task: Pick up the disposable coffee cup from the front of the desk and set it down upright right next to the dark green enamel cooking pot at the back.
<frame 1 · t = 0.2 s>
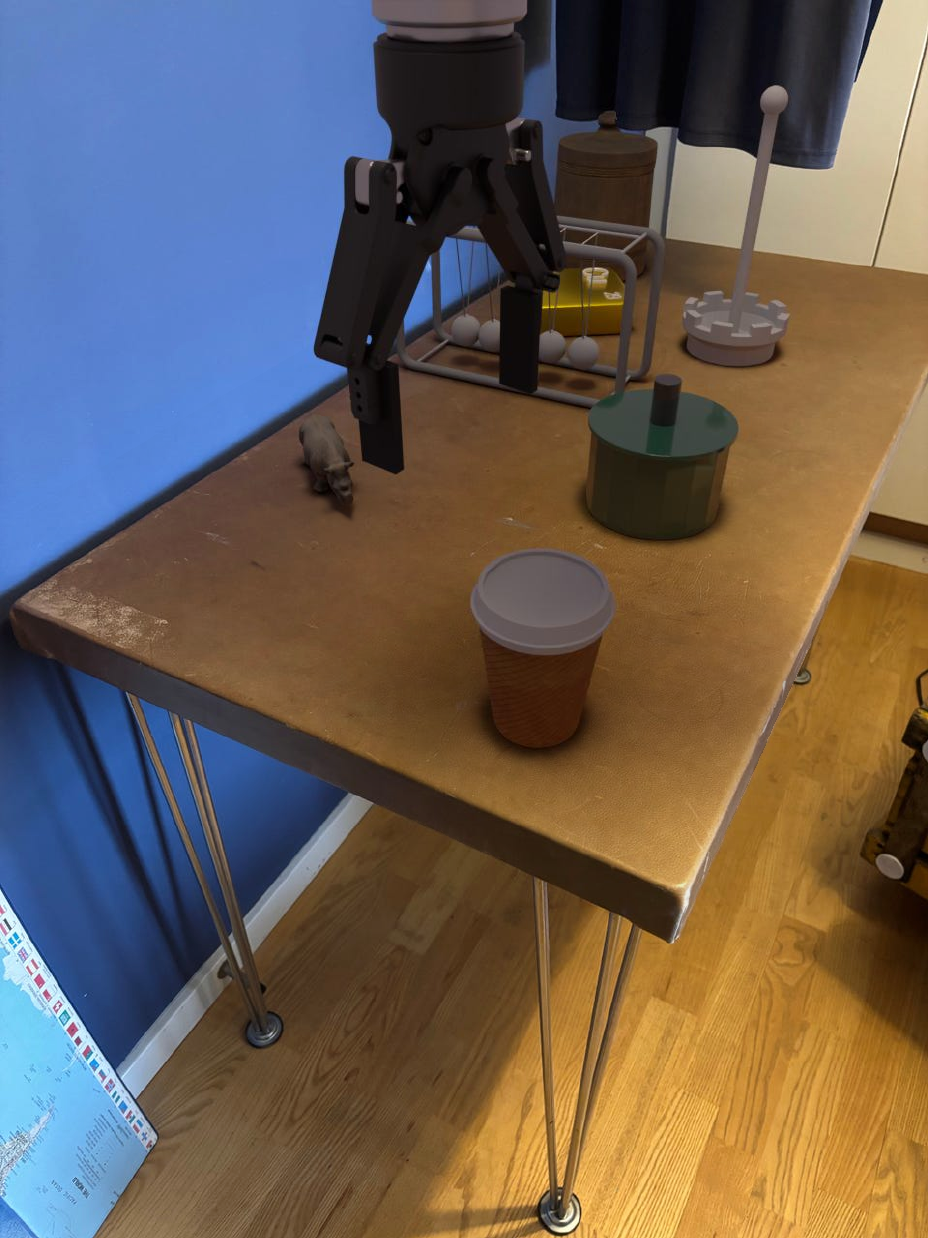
hand: (455, 423, 58), 21 cm above the table, tool pointing down, fingers open, 13 cm apart
wooden container: (596, 269, 144), on the table
pot lid: (662, 425, 84), point 8 cm above the table, touching pot
newton's cradle: (520, 375, 113), on the table
element tile: (569, 317, 128), on the table
disposable coffee cup: (535, 718, 67), on the table
pot: (650, 504, 89), on the table
flag stand: (729, 350, 119), on the table
rhino figurine: (332, 489, 92), on the table
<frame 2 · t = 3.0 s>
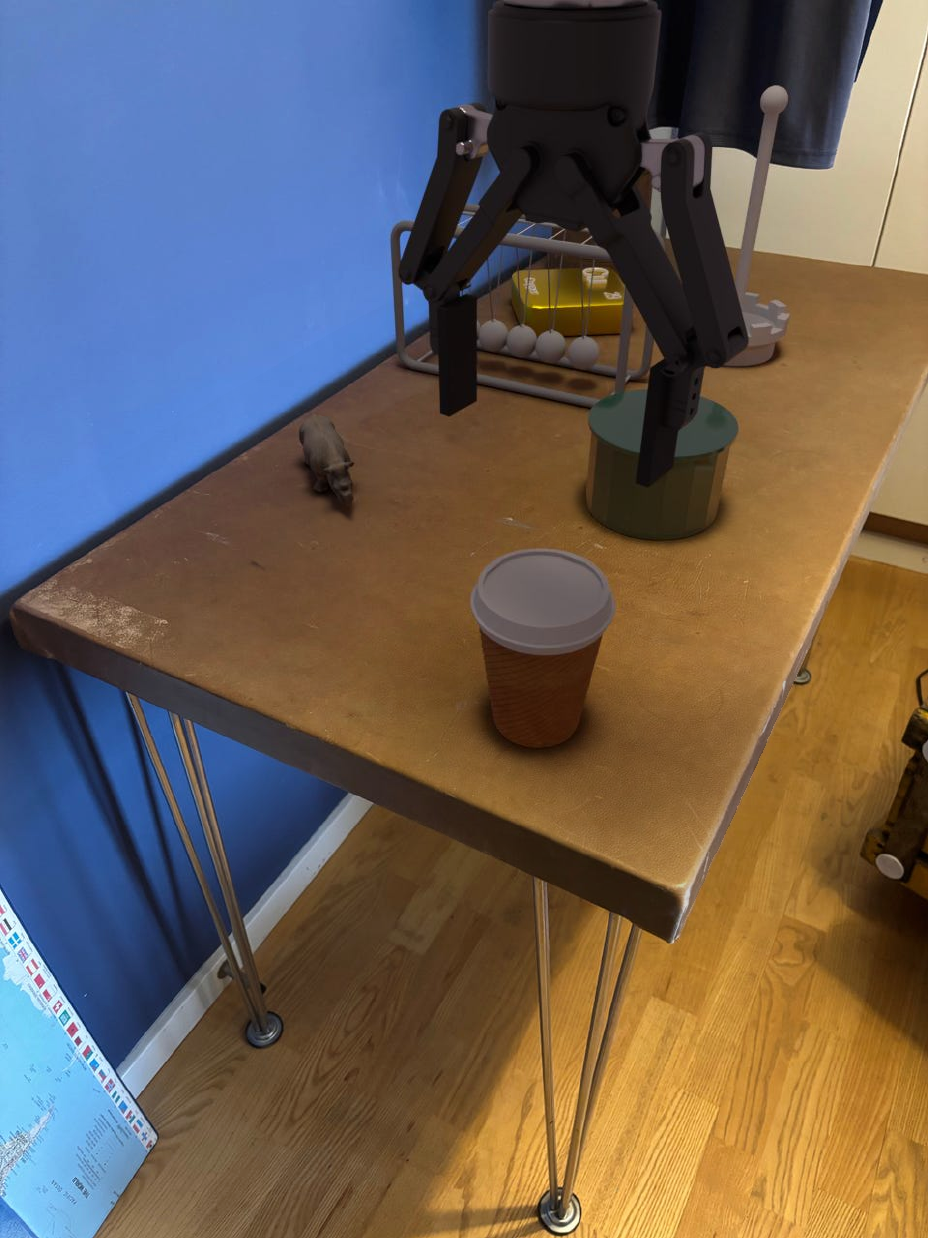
hand: (550, 439, 53), 22 cm above the table, tool pointing down, fingers open, 13 cm apart
nothing on the table moved.
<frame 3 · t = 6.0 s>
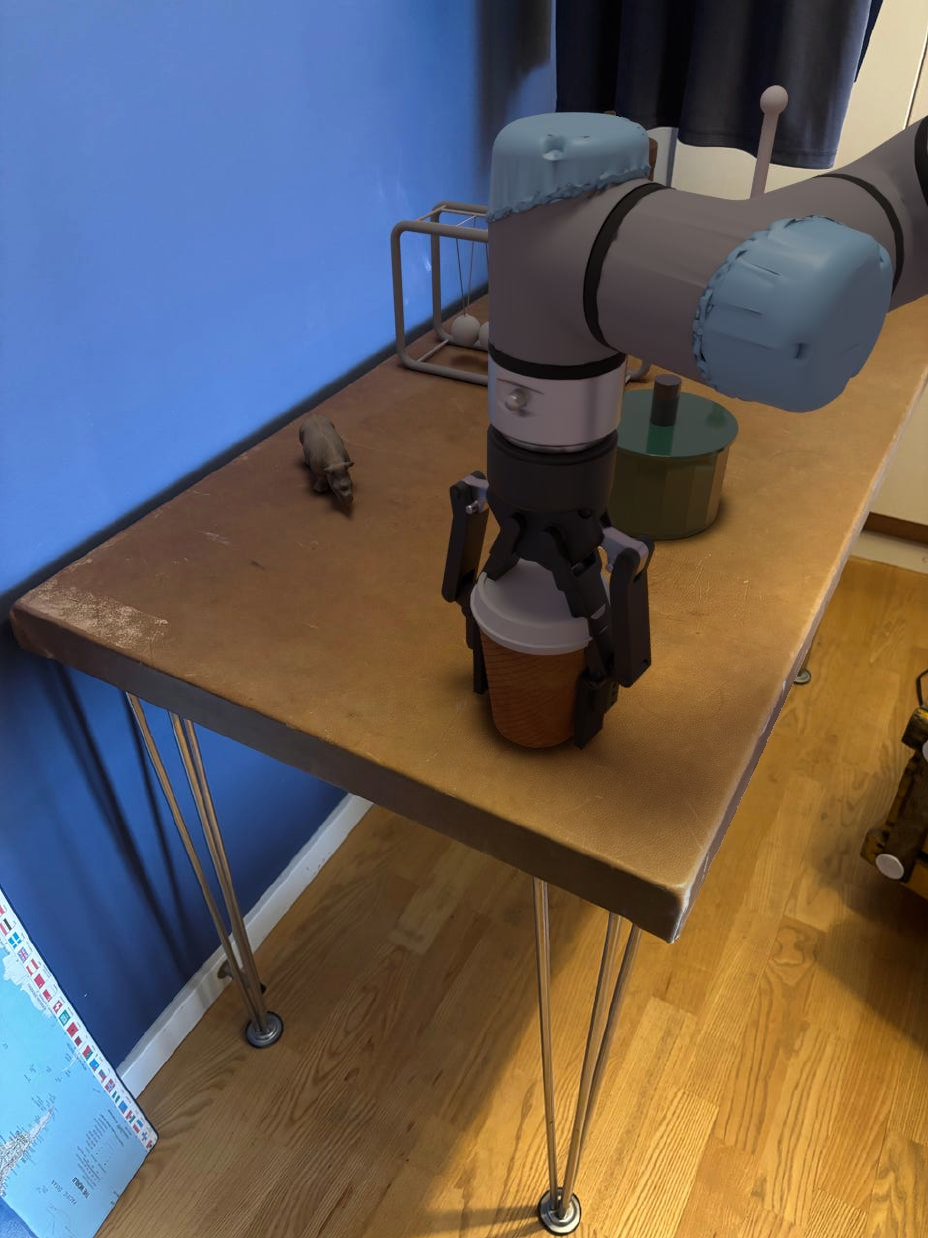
hand: (536, 709, 66), 1 cm above the table, tool pointing down, fingers closed on disposable coffee cup, 8 cm apart
disposable coffee cup: (535, 718, 67), on the table, touching gripper
everything else where it was.
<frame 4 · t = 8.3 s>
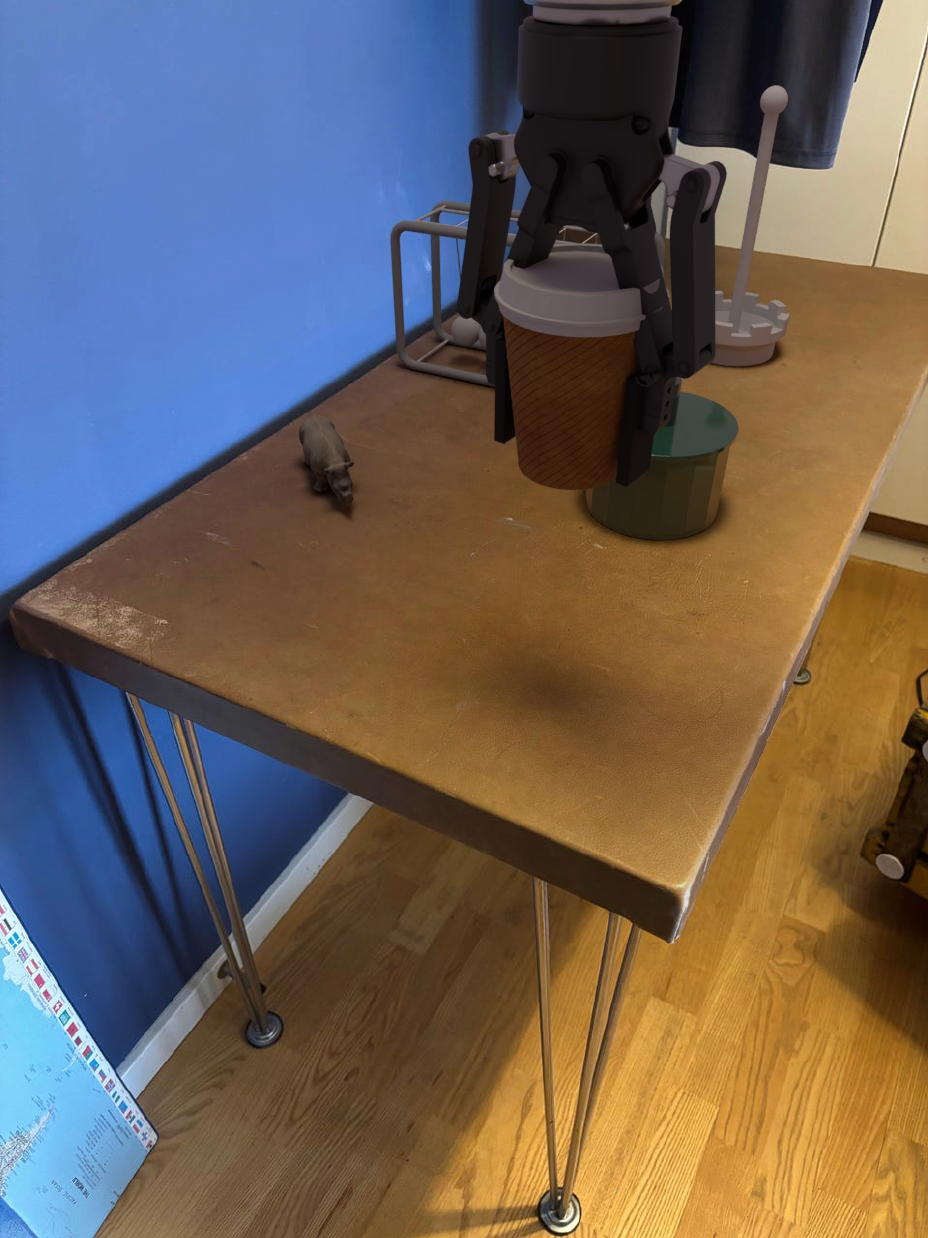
hand: (569, 453, 56), 20 cm above the table, tool pointing down, fingers closed on disposable coffee cup, 8 cm apart
disposable coffee cup: (568, 467, 57), point 19 cm above the table, touching gripper
everything else where it was.
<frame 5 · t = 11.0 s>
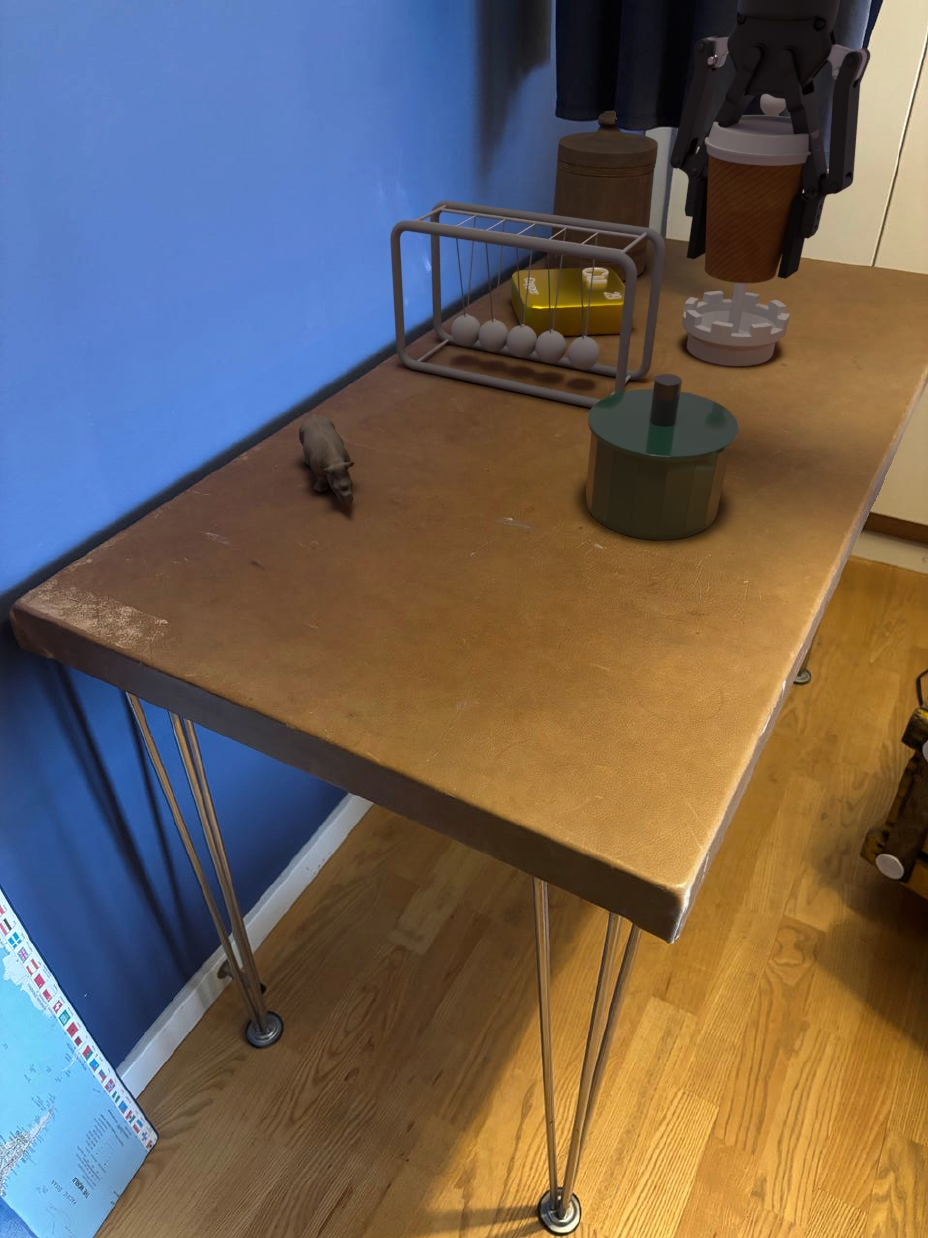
hand: (741, 263, 83), 21 cm above the table, tool pointing down, fingers closed on disposable coffee cup, 8 cm apart
disposable coffee cup: (739, 274, 83), point 20 cm above the table, touching gripper
everything else where it was.
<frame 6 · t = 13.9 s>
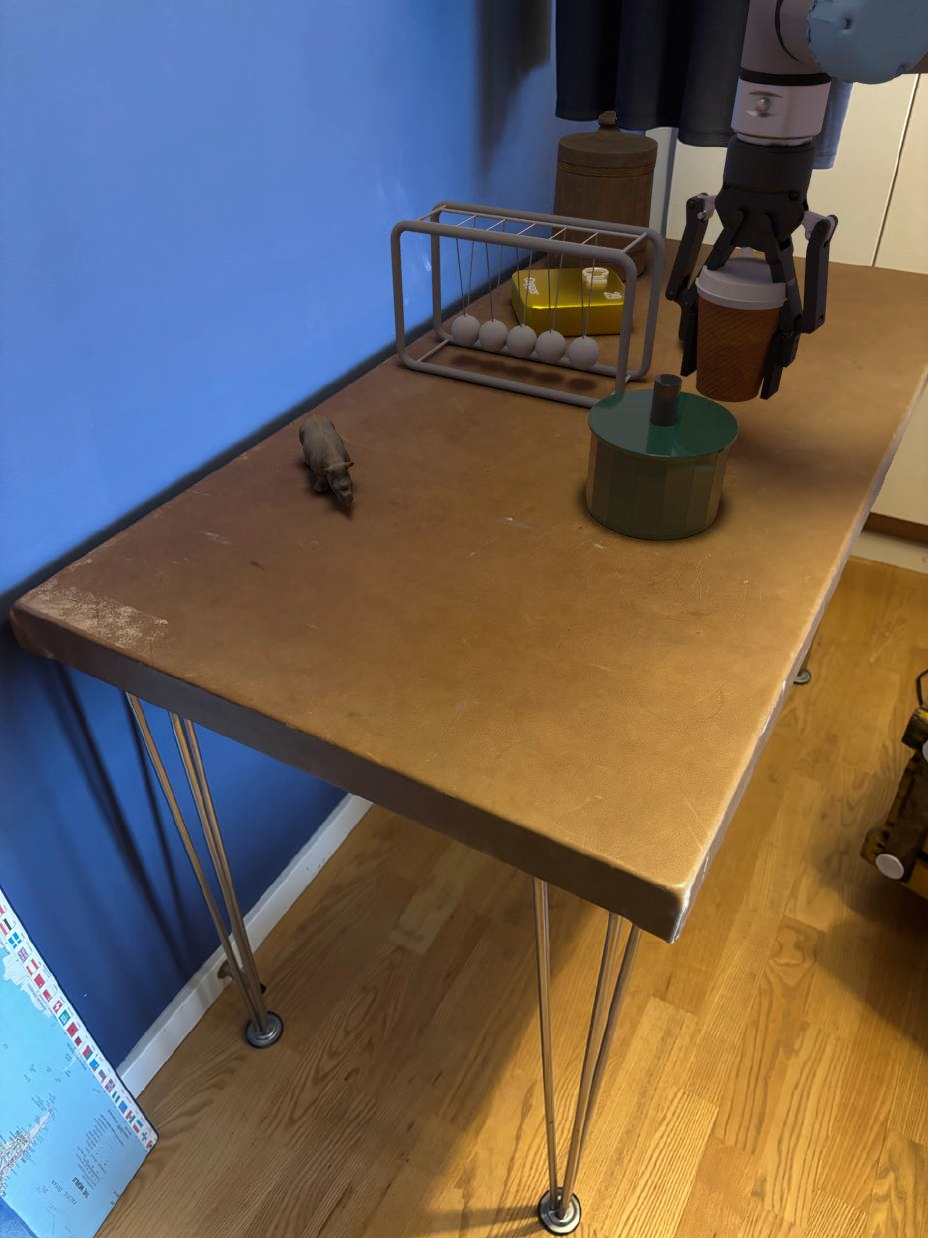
hand: (728, 382, 93), 8 cm above the table, tool pointing down, fingers closed on disposable coffee cup, 8 cm apart
disposable coffee cup: (726, 391, 94), point 7 cm above the table, touching gripper
everything else where it was.
when the fingers open (1 cm above the table, at t = 16.0 s): disposable coffee cup stays where it is, on the table.
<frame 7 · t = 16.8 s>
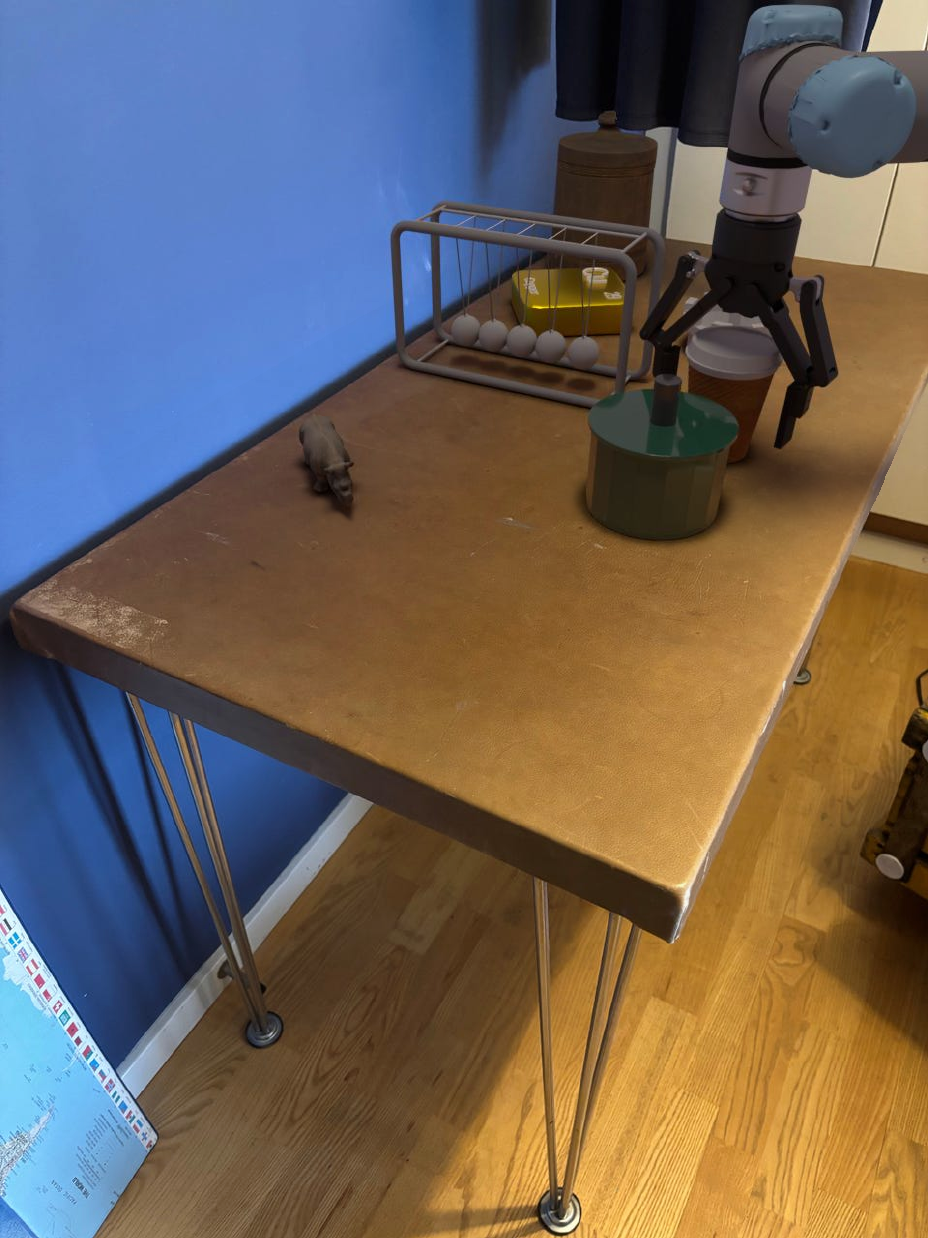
hand: (720, 424, 96), 3 cm above the table, tool pointing down, fingers open, 13 cm apart
disposable coffee cup: (716, 451, 98), on the table
everything else where it was.
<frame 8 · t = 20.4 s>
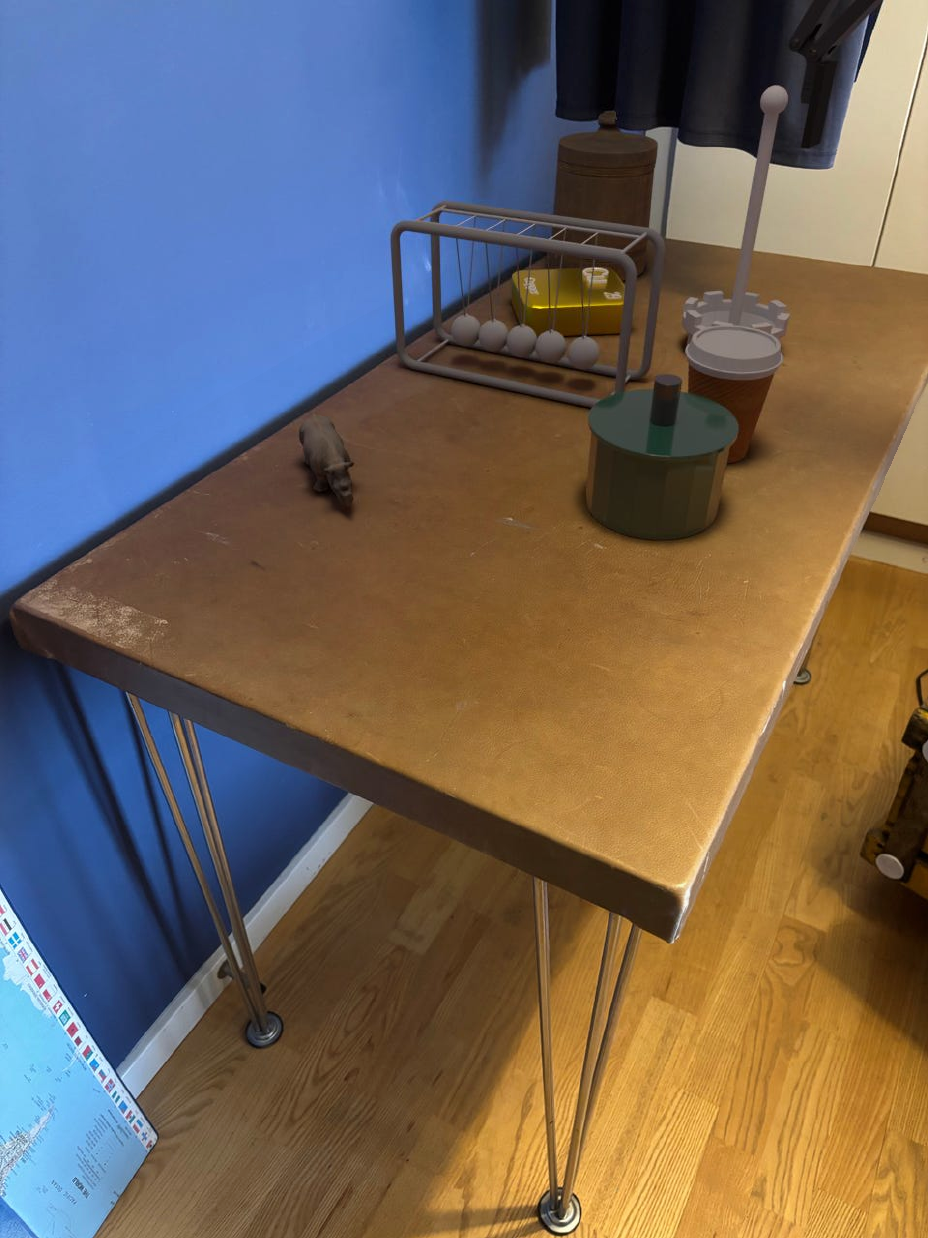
hand: (885, 156, 79), 29 cm above the table, tool pointing down, fingers open, 13 cm apart
nothing on the table moved.
at the end: disposable coffee cup inside the target area on the table beside the pot (0.8 cm from its centre), on the table; disposable coffee cup tilted 0° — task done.
